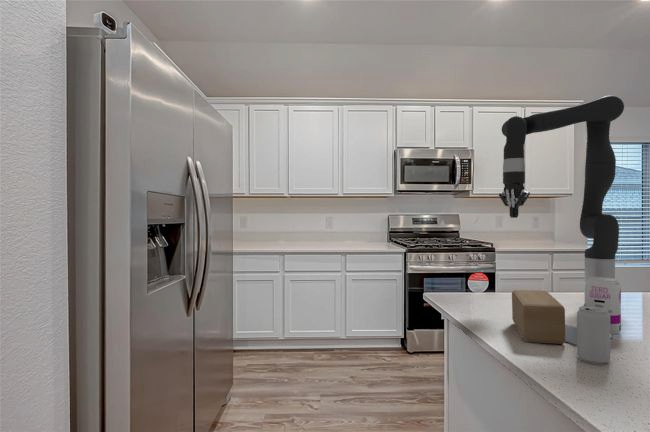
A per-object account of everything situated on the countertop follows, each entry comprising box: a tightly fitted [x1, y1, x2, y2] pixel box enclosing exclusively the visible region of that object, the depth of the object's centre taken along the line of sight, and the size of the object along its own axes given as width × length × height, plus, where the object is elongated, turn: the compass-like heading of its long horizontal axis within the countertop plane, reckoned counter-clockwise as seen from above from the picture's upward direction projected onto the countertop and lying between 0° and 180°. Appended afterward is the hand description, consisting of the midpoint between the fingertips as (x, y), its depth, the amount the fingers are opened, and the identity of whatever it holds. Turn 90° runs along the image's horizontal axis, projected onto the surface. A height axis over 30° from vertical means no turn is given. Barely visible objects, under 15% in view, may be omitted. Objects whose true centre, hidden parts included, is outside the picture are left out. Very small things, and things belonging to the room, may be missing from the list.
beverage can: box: [576, 305, 611, 365], centre depth 93 cm, size 6×6×12 cm
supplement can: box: [585, 277, 622, 336], centre depth 116 cm, size 8×8×15 cm
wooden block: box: [511, 289, 566, 345], centre depth 114 cm, size 10×10×20 cm
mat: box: [565, 324, 614, 346], centre depth 114 cm, size 14×18×1 cm
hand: (513, 217), depth 152 cm, fingers closed
